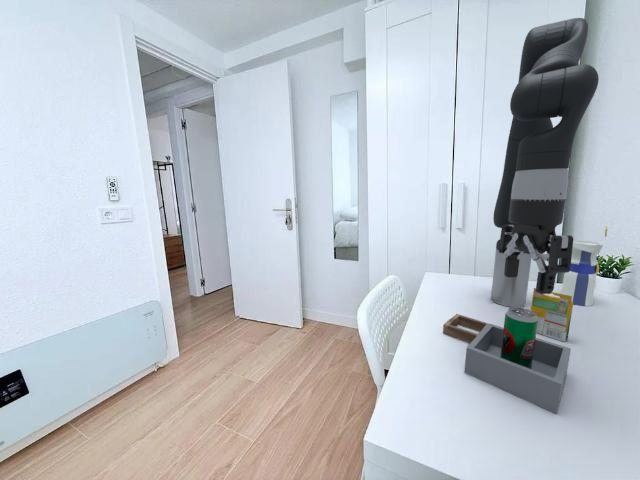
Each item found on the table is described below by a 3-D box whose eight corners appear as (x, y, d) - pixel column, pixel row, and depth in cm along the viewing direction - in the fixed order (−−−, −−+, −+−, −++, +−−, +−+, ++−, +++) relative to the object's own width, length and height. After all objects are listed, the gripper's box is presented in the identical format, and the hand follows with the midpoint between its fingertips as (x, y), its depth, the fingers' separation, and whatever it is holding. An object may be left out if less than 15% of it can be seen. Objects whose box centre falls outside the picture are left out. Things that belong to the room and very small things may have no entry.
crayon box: (568, 338, 64) (575, 293, 62) (565, 342, 63) (572, 296, 61) (531, 326, 70) (536, 285, 68) (527, 330, 68) (533, 287, 66)
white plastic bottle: (589, 298, 87) (602, 223, 82) (598, 308, 80) (613, 226, 75) (556, 294, 91) (567, 222, 87) (561, 303, 84) (574, 225, 79)
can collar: (455, 322, 73) (456, 313, 73) (491, 333, 67) (492, 324, 67) (442, 333, 68) (443, 324, 67) (479, 347, 61) (480, 337, 61)
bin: (486, 344, 62) (488, 323, 61) (566, 373, 52) (570, 348, 51) (464, 372, 53) (466, 347, 52) (556, 414, 43) (561, 384, 42)
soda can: (524, 379, 49) (532, 320, 47) (495, 365, 53) (501, 310, 51) (535, 369, 52) (543, 312, 50) (506, 356, 56) (512, 303, 54)
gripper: (600, 197, 39) (581, 300, 42) (529, 195, 53) (519, 272, 56) (547, 198, 39) (533, 300, 43) (491, 196, 53) (483, 272, 57)
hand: (525, 284), depth 49 cm, fingers open, 8 cm apart
